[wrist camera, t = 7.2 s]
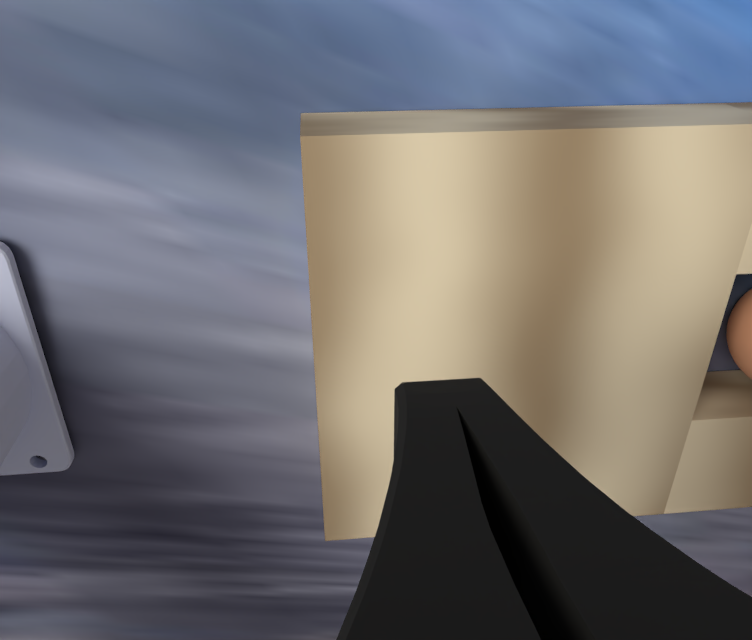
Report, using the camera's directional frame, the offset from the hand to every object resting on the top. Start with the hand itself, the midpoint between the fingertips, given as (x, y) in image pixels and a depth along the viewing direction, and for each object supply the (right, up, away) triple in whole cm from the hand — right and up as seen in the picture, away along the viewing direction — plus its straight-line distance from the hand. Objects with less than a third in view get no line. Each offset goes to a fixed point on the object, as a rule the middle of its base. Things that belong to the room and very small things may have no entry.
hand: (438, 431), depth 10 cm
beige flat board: (+6, +2, +10) cm, 12 cm away
